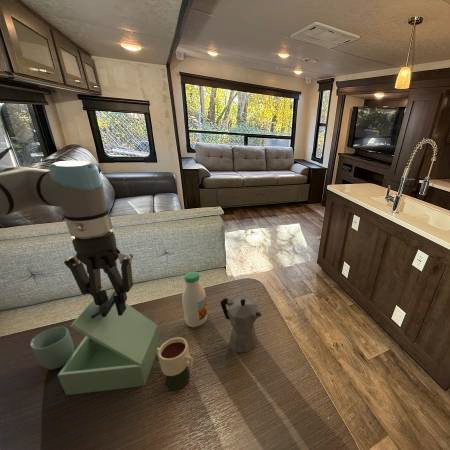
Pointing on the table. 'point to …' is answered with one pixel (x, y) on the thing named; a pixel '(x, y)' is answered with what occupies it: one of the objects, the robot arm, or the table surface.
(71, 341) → the cup
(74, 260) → the robot arm
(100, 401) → the table surface
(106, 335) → the lid
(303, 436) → the table surface
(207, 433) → the table surface
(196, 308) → the milk bottle
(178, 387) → the character mug
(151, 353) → the chest
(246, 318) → the coffeepot
